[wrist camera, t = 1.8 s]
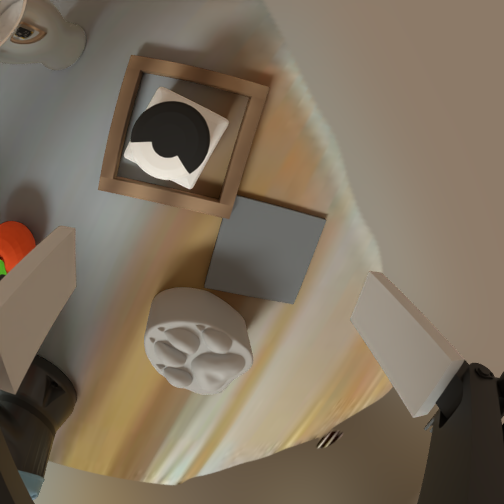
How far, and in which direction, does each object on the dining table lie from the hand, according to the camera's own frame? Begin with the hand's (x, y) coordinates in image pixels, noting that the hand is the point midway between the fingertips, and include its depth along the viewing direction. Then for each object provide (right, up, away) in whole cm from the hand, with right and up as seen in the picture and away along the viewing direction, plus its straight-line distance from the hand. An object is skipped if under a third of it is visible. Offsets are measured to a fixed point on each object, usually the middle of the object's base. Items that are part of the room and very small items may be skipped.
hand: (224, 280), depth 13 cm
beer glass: (-20, +25, +12) cm, 34 cm away
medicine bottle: (-7, +14, +19) cm, 25 cm away
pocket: (-7, +14, +19) cm, 24 cm away
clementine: (-29, +2, +21) cm, 35 cm away
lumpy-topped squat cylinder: (-7, -8, +29) cm, 31 cm away
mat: (+3, +1, +26) cm, 26 cm away
